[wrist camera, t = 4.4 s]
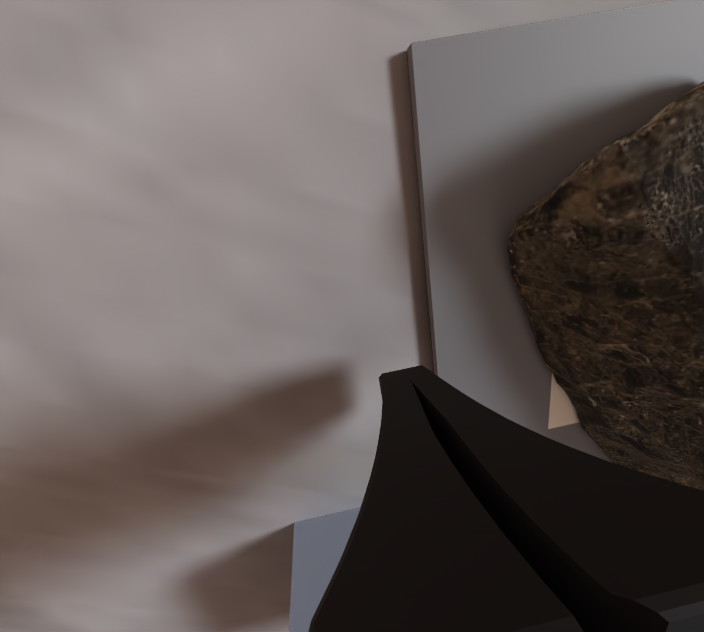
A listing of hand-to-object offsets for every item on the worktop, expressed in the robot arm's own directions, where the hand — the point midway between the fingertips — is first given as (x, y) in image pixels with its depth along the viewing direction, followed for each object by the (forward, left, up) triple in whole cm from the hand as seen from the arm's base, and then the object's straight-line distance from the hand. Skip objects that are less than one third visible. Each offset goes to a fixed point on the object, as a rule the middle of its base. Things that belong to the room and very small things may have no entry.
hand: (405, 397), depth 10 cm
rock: (0, -10, -2) cm, 10 cm away
